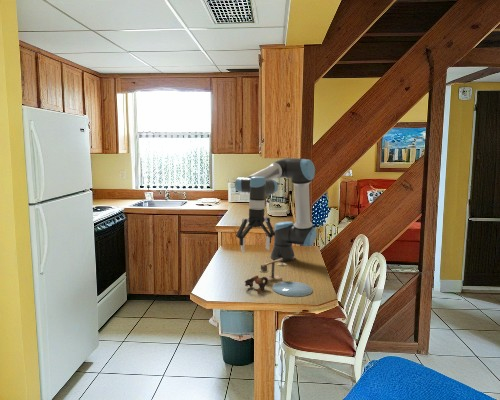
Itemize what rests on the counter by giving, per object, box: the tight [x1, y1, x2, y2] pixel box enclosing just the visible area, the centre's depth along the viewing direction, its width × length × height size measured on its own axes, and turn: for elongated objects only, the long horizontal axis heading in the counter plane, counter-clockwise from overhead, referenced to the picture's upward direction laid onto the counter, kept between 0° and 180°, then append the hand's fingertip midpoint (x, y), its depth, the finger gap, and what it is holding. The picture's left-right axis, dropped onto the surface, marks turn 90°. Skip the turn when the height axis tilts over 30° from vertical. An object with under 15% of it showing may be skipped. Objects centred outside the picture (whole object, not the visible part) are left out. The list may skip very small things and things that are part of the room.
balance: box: [258, 258, 288, 283], centre depth 218 cm, size 16×5×11 cm, turn 114°
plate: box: [272, 281, 313, 298], centre depth 206 cm, size 20×20×1 cm
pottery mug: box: [244, 275, 269, 294], centre depth 204 cm, size 12×10×8 cm
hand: (255, 250), depth 202 cm, fingers open, 13 cm apart
